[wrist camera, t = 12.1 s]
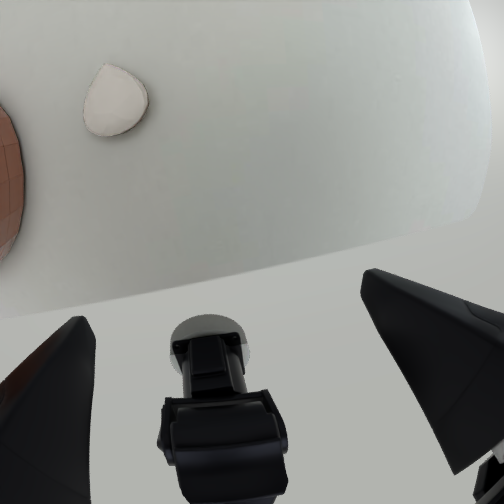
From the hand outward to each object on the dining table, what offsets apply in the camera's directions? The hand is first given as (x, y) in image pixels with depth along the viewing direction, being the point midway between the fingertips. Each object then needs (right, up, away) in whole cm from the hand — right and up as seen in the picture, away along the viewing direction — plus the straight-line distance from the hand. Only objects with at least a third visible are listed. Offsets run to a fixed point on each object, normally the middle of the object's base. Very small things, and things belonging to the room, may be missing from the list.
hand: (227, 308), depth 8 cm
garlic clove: (-8, +12, +6) cm, 15 cm away
